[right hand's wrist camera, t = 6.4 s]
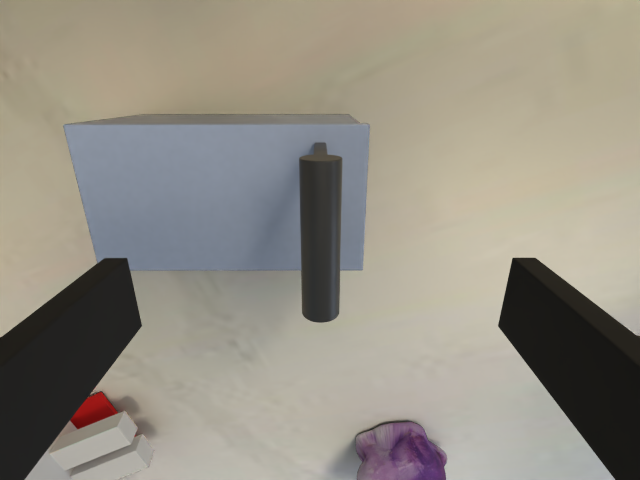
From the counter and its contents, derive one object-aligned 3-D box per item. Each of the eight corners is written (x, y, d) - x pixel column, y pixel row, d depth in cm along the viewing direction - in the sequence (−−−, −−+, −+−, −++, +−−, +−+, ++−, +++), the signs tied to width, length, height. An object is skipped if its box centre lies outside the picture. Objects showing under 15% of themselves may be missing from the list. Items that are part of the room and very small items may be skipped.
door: (368, 123, 22) (393, 139, 15) (361, 265, 26) (379, 337, 18) (71, 123, 22) (-59, 139, 15) (105, 265, 26) (15, 337, 18)
